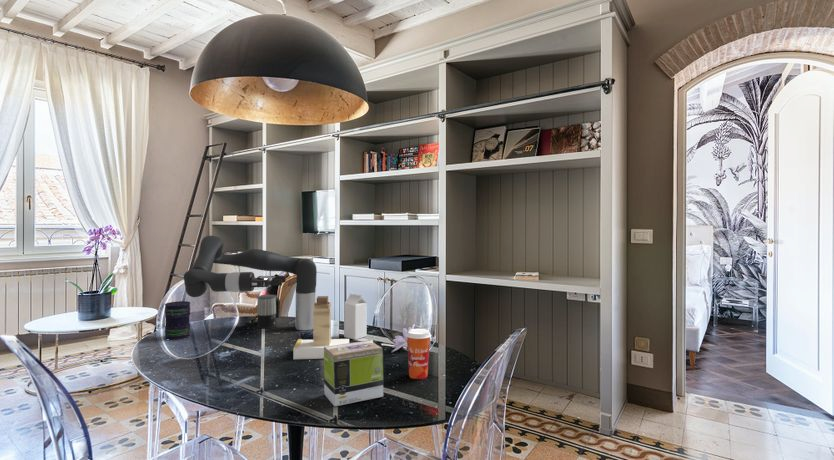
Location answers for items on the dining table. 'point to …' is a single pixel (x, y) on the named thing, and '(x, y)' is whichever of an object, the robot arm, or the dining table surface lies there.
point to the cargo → (322, 300)
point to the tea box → (353, 372)
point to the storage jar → (177, 320)
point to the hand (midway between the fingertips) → (283, 280)
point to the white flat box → (313, 349)
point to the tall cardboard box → (321, 324)
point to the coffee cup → (418, 352)
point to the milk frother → (266, 311)
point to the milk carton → (355, 317)
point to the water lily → (401, 339)
